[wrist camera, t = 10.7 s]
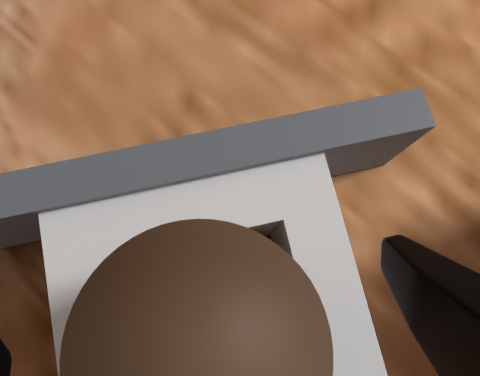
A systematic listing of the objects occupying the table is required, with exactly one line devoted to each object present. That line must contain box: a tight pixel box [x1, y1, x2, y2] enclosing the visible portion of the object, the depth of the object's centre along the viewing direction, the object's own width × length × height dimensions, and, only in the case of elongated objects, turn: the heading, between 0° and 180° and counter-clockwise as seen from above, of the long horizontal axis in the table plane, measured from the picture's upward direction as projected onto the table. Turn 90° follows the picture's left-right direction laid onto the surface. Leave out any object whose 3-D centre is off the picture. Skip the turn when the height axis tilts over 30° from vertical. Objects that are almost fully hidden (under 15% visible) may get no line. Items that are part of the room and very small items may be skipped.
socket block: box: [38, 153, 388, 376], centre depth 15 cm, size 9×10×4 cm
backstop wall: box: [0, 88, 435, 249], centre depth 16 cm, size 2×18×5 cm, turn 103°
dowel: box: [59, 219, 333, 376], centre depth 12 cm, size 4×4×12 cm
